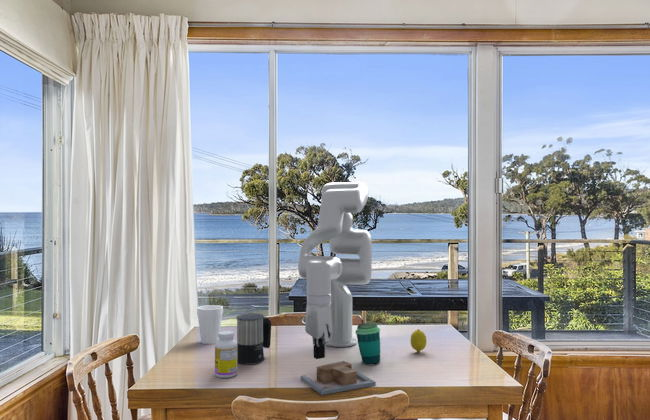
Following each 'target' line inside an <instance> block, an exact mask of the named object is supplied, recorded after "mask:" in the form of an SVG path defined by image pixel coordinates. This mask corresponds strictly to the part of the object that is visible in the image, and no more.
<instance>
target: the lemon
mask: <svg viewBox="0 0 650 420" xmlns="http://www.w3.org/2000/svg"><path fill="white" fill-rule="evenodd" d="M409 341H410V345H411V347H412V349H413V350H415V351H416V352H417V353H420V352H421V351H423V350H424V349H425V348H426V346H427V335H426V334H425V332H424V331H422V330H420V329H418V328H417V329H416V330H414V331H413V332H412V333H411V335H410V339H409Z"/></svg>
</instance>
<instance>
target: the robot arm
mask: <svg viewBox="0 0 650 420" xmlns="http://www.w3.org/2000/svg"><path fill="white" fill-rule="evenodd" d="M368 199H369V189H368V186H367V184H366V183H364V182H361V181H357V182H356V181H354V182H353V181H352V182H351V181H349V182H346V181H345V182H344V181H343V182H342V181H341V182H339V181H338V182H335V181H334V182H328V183H326V184H324V185H322V188H321V199H320V200H321V201H320V206H319V207H320V209H319V213H318V214H319V215H318V221H317V226H316V228H315V229H314V230H313V231H311V232H310V233H309V234H308V236H307V237H306V238H305V240H303V242H302V244H301V247H300V250H299V251H300V252H299V257H298V265H297V266H298V267H297V271H298V274H299V276H300V277H301V278H302V279H306V308H305V322H304V323H305V324H304V326H305V327H304V330H305V333H306V334H307V335H309V336H310V337H312V338H311V339H312V345H313V358H314V359H316V360H320V359H325V357H326V346H328V347H332V348H333V347H335V348H344V347H345V348H348V347H353V346H355V345H356V344H357V339H356V338H355V337H354V336H353V294H352V292H351V291H350V289H349V288H348V286H347V285H359V286H360V285H362V286H363V285H368V284H369V283H370V282H371V280H372V270H373V269H372V266H373V264H372V263H373V259H372V257H373V255H372V254H373V242H372V241H373V240H372V236H371V233H370V232H369V231H368V230H366V229H354V228H353V224H354V223H353V219H354V218H353V215H352V214H357V213H361V212H362V211H363V209H364V207H365V205H366V204H367V201H368ZM328 241H329V250H330V252H331V253H332V254H334V255H342V256H343V255H345V256H358V257H359V258H350V257H349V258H347V257H346V258H345V257H343V258H341V257H337V256H329V255H327V256H325V255H311V253H312V251H313V250H314V249H315V248H316V247H317V246H319V245H321V244H322V243H325V242H328Z"/></svg>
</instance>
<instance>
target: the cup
mask: <svg viewBox="0 0 650 420" xmlns="http://www.w3.org/2000/svg"><path fill="white" fill-rule="evenodd" d="M380 332H381V328H380V327H379V326H378V324H376V323H370V322H369V323H368V322H367V323H366V322H365V323H359V324H358V325H357V327H356V329H355V334H356V338H357V339H356V340H357V345H358V350H359V354H360V357H361V363H362V364H364V365H367V366H368V365H369V366H375V365H379V364H380V362H381V338H380V335H381V334H380Z"/></svg>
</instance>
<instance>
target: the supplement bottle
mask: <svg viewBox="0 0 650 420" xmlns="http://www.w3.org/2000/svg"><path fill="white" fill-rule="evenodd" d="M218 337H219V340H218V341H217V342H216V343H215V344H214V374H215V375H214V376H215V377H217V378H220V379H228V378H233V377H235V376H236V375H238V362H237V339H236V340H235V339H234V338H235V331H233V330H220V332H219V333H218Z"/></svg>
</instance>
